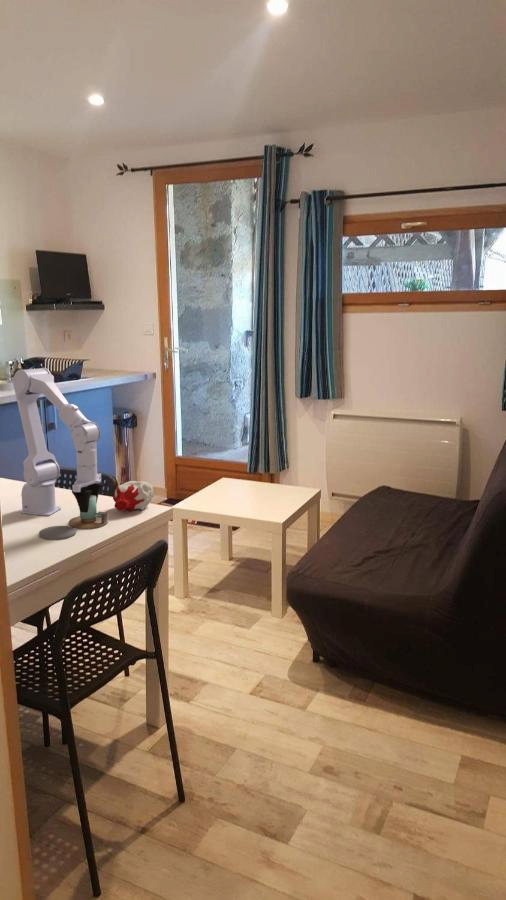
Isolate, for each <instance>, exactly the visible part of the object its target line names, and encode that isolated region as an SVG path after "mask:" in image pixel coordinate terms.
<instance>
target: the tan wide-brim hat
mask: <svg viewBox="0 0 506 900" xmlns="http://www.w3.org/2000/svg"><path fill="white" fill-rule="evenodd" d="M96 515H101V518H96V517H95V518H92V519H82V518H80V515H79V516H75V517H72V518H71V519H70V520H69V521H68V526H69V527H73V528H75V529H77V530H94V529H98V528H102V527H104V526H106V525H108V523H109V520H108V512H107V511H98V512H97V513H96Z"/></svg>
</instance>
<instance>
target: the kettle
mask: <svg viewBox="0 0 506 900" xmlns="http://www.w3.org/2000/svg"><path fill="white" fill-rule="evenodd" d="M96 513H98V512H97V504H96V496H95V495H90V499H89V508H88V512H87V513H86V512H80V511H79V516H80V518H82V519H92V518H95V517H96V518H101V515H96Z"/></svg>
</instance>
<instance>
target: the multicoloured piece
mask: <svg viewBox="0 0 506 900" xmlns="http://www.w3.org/2000/svg"><path fill="white" fill-rule="evenodd" d="M154 490H155V489H154V486H153V485H152V484H150V483H149V482H147V481H144V480H143V481H138V480H130V481H127V482H124V483H122V484H120V485H117V486H116V489H115V491H114V494H113V496H112V499H113V501H114V506H113V507H115V509H116V510H117V511H127V512H134V511H137V510H138V509H140V510H141V511H143V510H145V508H146V507H147V506H149V505H150V503H151V501H152V499H153V498H154V495H155V493H154Z"/></svg>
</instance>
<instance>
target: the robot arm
mask: <svg viewBox="0 0 506 900" xmlns="http://www.w3.org/2000/svg"><path fill="white" fill-rule="evenodd" d="M11 380H12V383H13V389H14V394H15V398H16V401H17V402H16V403H17V407H18V411H19V412H18V413H19V416H20V420H21V424H22V430H23V433H24V438H25V443H26V446H27V451H28V456H27V457H26V458H25V459H24V460H23V462H22V466H23V479H24V481H25V483H24V484H23V486H22V489H21V511H20V513H21V514H26V515H27V514H28V515H38V516H51V515H52V514H55V512H58V511H59V510H61V509H62V507H61V506H57V504H56V486H55V485H56V483H57V479H58V478H59V477H60V474H61V468H60V465H59V464H58V461H57V459H56V456H55V455H54V454H53V453H51V452H49V451H48V448H47V444H46V440H45V435H44V430H43V425H42V421H41V417H40V412H39V409H38V404H37V400H38V398H39V397H40V396H42V395H43V396H44V397H45V398H46V399H47V400H48V401H49V402H50V403H51V404H52V405H53V406H54V407H55V408H56V409H57V410H58V418H59V419H60V420H61V421H62V422H63V424H64V425H65V426H66V427H67V428H68V429H69V431H70V432H71V433H70V437H71V440H72V441H73V444H74V447H73V448H74V449H75V451H76V452H75V453H76V479H75V482H74V484H72V488H71V493H72V494H73V496H74V498H75V499H76V502H77V506H78V509H79V513H80V512H86V513H87V512H88V508H89V499H90V495H95V496H96V505H97V503H98V498H99V494H100V491H101V489H102V487H103V485H104V484H103V483H104V482H102V473H99V472H98V457H97V455H98V453H97V452H98V450H97V446H98V445H97V441H99V440H100V438H101V435H102V434H101V429H100V426H99V425H98V423H96V422H94V421H91V420H89V419H87V417H86V416H85V415H84V414H83V413H82V411H81V410H80V409H79V407H78V406H77V405H75V404H73V403H69V402H68V400H67V399H66V398H65V396H64V395H63V394H62V392H61V390H60V389H59V387H58V386H57V385H56V383H55V376H54V375H53V374H52V373H51V371H50V370H49V369H48V368H46V367H40V368H29V369H18V370H17V371H16V372H15V373H14V376H13V377H12V379H11Z"/></svg>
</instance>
